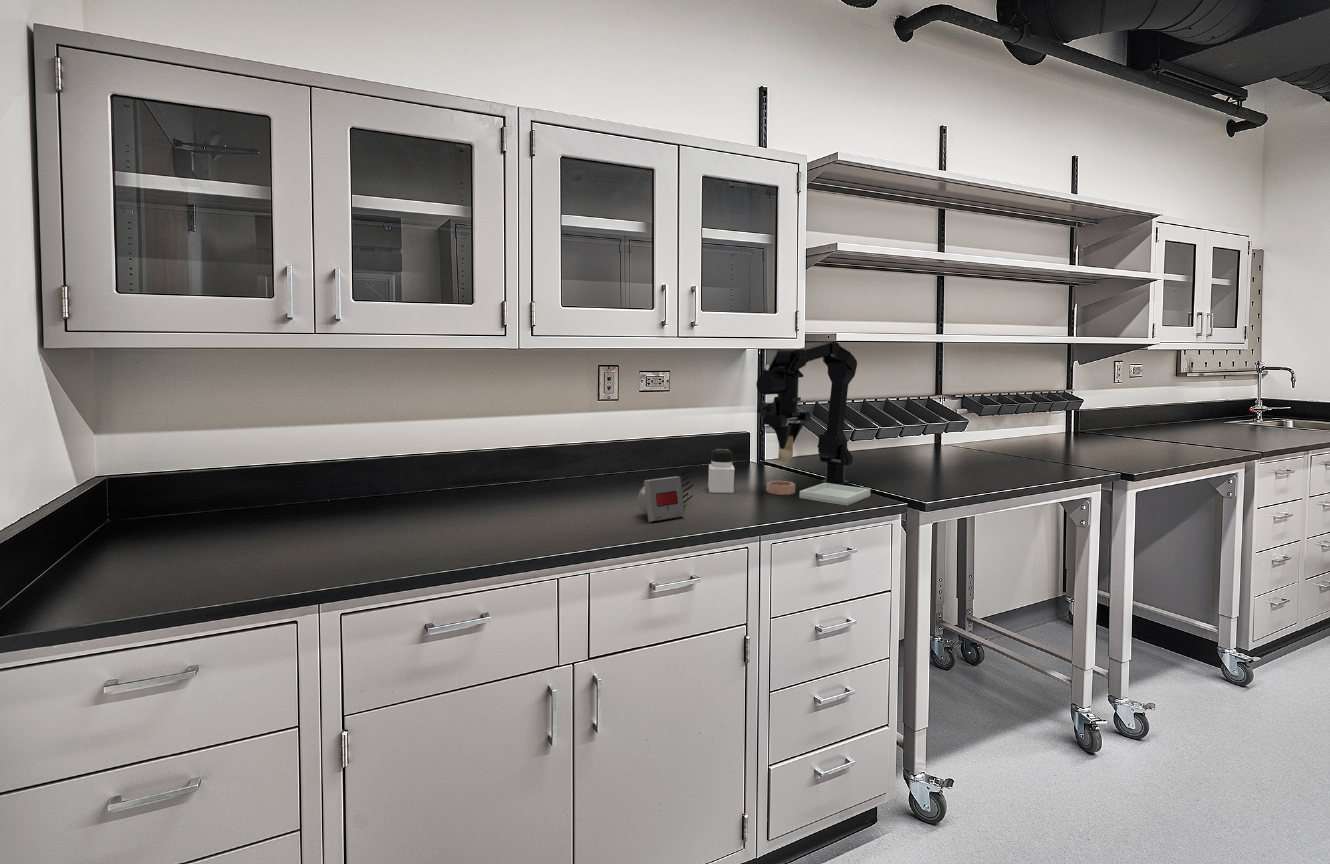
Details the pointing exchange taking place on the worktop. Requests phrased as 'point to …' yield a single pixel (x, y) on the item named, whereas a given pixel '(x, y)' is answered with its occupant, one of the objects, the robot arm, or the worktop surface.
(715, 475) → the medicine bottle
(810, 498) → the tray
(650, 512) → the voltmeter
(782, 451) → the dowel
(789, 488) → the cup ring
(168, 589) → the worktop surface
